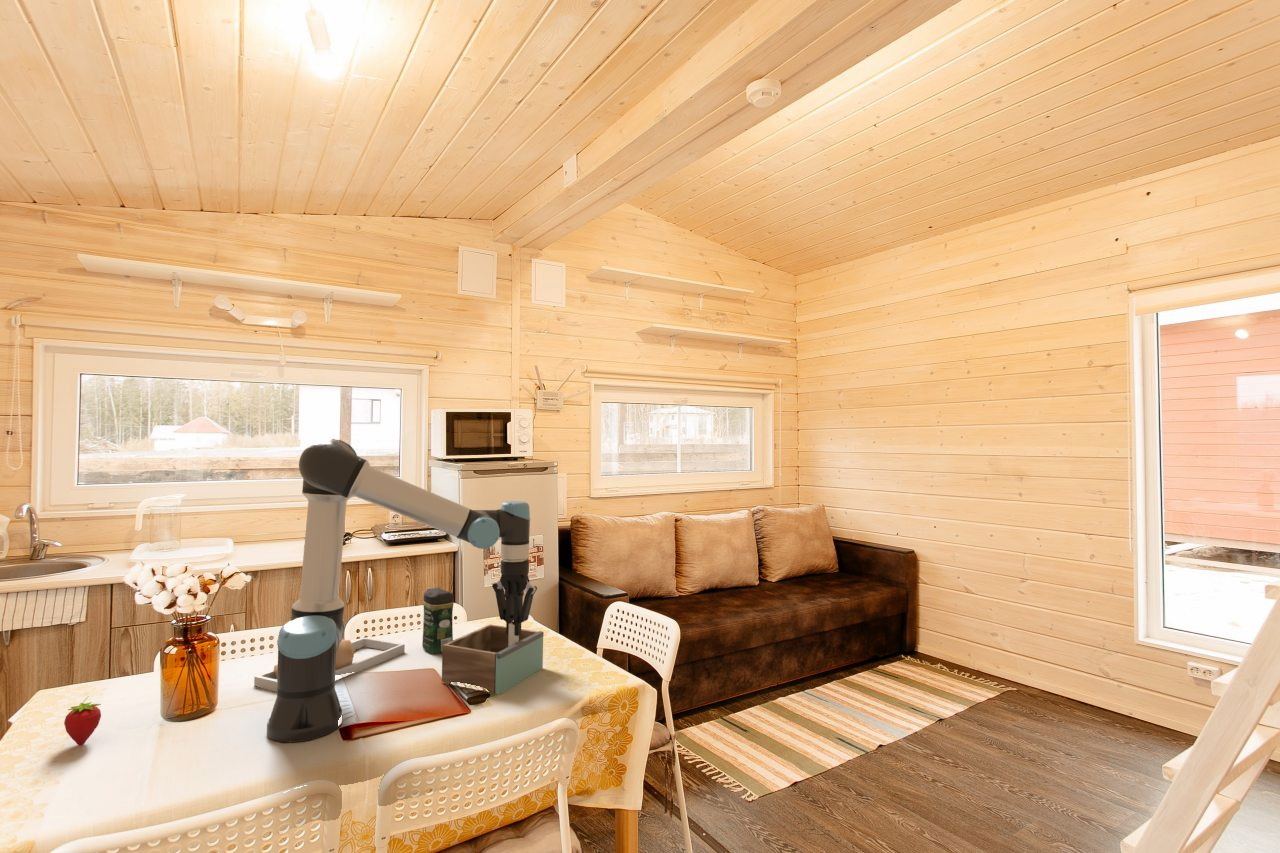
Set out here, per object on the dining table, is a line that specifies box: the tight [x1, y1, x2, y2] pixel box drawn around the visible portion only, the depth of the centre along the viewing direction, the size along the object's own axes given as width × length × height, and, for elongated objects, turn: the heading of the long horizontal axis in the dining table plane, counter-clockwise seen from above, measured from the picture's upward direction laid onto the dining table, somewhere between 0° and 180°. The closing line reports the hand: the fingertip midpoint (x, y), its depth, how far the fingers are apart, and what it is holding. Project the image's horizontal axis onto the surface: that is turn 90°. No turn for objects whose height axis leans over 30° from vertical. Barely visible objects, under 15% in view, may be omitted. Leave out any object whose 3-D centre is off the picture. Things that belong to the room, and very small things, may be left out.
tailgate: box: [494, 630, 544, 695], centre depth 173 cm, size 21×1×10 cm, turn 158°
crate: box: [441, 624, 538, 695], centre depth 177 cm, size 21×16×11 cm
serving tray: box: [253, 637, 406, 693], centre depth 183 cm, size 37×16×2 cm, turn 158°
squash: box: [273, 639, 355, 677], centre depth 177 cm, size 11×20×9 cm, turn 130°
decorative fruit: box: [63, 695, 102, 746], centre depth 136 cm, size 6×8×10 cm
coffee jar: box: [422, 587, 455, 654], centre depth 200 cm, size 10×8×19 cm
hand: (513, 646), depth 174 cm, fingers closed
